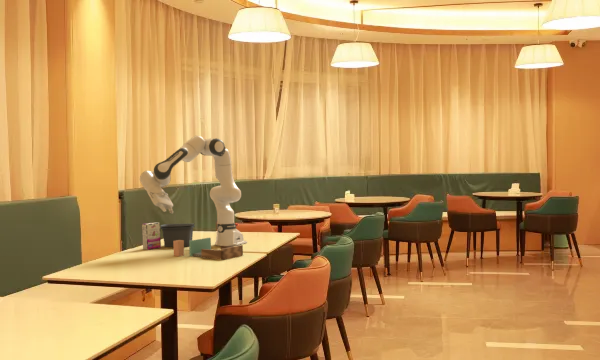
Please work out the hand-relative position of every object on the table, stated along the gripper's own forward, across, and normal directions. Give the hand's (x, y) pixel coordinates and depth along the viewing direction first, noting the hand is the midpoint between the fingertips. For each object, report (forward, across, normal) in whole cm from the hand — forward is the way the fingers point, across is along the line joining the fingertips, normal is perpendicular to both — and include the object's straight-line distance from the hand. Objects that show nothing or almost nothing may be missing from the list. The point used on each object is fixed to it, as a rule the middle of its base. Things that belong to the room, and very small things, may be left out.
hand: (168, 212), depth 389 cm
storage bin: (+7, +41, +20) cm, 46 cm away
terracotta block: (+25, +1, +10) cm, 27 cm away
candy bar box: (+2, +26, +31) cm, 41 cm away
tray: (+36, +4, -5) cm, 36 cm away
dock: (+42, +1, -12) cm, 44 cm away
